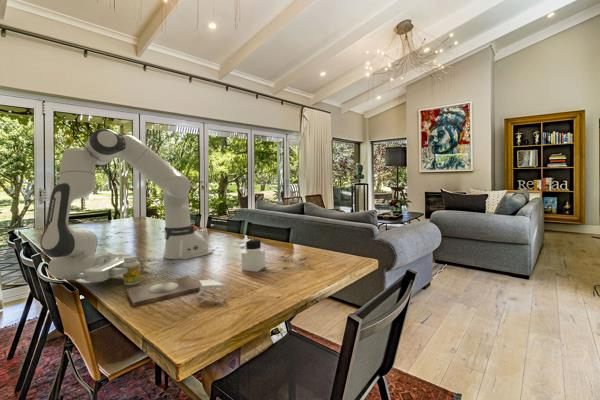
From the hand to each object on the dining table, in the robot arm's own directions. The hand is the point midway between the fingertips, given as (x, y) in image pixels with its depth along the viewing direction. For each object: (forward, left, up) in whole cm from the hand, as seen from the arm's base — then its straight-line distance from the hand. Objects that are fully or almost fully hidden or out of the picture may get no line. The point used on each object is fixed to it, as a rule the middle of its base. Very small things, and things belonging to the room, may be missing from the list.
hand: (133, 267), depth 109 cm
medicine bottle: (-41, +12, -6) cm, 44 cm away
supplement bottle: (+1, -1, -6) cm, 6 cm away
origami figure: (-17, +31, -6) cm, 36 cm away
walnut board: (-6, +15, -6) cm, 18 cm away
